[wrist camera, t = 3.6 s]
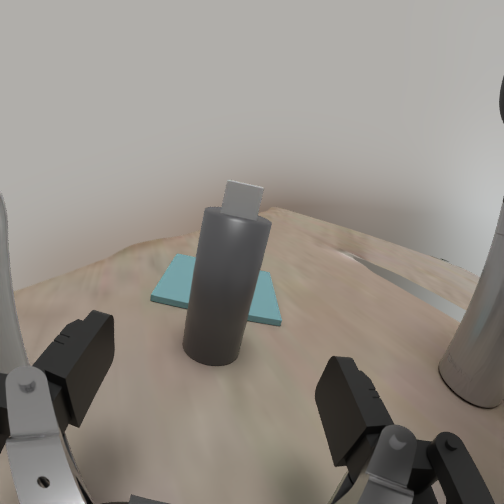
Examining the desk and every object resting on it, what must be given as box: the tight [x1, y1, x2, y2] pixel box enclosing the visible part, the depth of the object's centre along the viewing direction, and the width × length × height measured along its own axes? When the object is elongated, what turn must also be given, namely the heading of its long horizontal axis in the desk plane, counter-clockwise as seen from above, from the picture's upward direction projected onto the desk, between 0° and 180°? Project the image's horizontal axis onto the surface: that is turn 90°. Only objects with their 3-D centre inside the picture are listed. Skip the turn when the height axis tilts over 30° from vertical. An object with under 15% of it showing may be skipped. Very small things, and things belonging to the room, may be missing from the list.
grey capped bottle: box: [183, 180, 272, 366], centre depth 19 cm, size 4×4×12 cm
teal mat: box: [151, 254, 282, 326], centre depth 31 cm, size 12×12×1 cm
